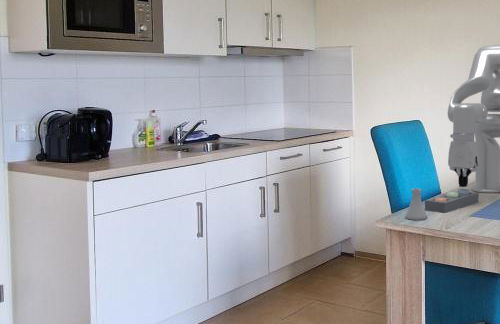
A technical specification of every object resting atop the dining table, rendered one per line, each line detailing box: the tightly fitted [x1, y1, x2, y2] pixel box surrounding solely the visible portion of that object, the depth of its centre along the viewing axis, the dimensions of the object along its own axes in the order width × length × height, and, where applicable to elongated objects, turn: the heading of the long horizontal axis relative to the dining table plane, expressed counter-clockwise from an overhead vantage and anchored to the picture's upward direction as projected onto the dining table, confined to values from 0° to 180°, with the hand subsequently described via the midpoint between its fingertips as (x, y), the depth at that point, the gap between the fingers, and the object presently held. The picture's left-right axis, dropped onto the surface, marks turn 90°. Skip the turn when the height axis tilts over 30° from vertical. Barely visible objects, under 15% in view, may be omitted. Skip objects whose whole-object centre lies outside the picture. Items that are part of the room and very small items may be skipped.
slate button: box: [457, 188, 470, 195], centre depth 233 cm, size 4×4×3 cm
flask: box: [405, 188, 428, 221], centre depth 210 cm, size 7×7×10 cm
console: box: [424, 190, 480, 213], centre depth 228 cm, size 24×8×4 cm, turn 132°
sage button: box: [446, 191, 458, 198], centre depth 228 cm, size 4×4×3 cm
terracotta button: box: [434, 197, 447, 202], centre depth 222 cm, size 4×4×3 cm
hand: (463, 186), depth 232 cm, fingers closed
